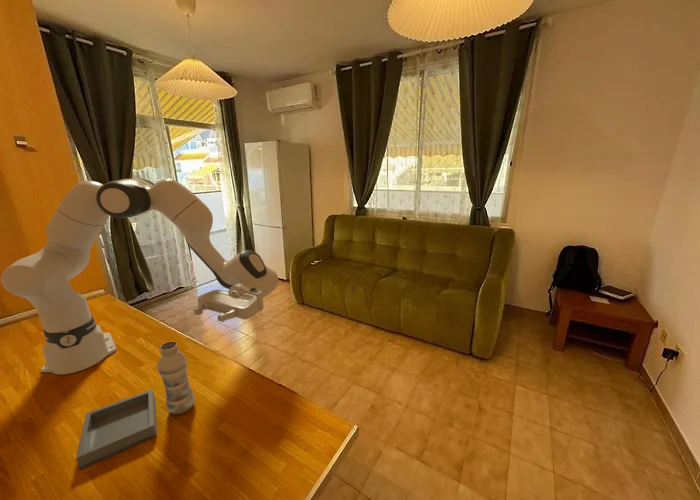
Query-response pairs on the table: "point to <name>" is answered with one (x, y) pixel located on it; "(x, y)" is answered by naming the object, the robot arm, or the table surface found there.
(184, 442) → the table surface
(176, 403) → the plastic bottle
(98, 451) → the box
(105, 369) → the table surface
